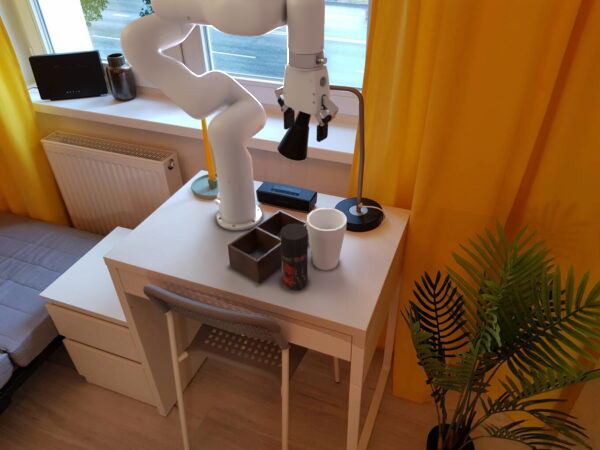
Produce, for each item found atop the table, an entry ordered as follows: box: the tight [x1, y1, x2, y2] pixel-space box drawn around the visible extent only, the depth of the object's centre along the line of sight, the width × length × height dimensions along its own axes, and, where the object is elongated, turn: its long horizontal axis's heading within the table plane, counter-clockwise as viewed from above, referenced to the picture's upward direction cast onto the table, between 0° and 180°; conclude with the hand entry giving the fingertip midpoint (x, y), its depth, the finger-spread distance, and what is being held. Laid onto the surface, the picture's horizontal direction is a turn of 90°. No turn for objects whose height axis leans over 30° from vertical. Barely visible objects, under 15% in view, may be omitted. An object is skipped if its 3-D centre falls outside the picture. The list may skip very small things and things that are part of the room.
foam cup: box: [306, 207, 348, 271], centre depth 118 cm, size 10×9×13 cm
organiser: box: [227, 209, 310, 285], centre depth 122 cm, size 10×19×7 cm, turn 141°
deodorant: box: [280, 224, 309, 292], centre depth 111 cm, size 6×6×15 cm
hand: (305, 133), depth 112 cm, fingers open, 9 cm apart
